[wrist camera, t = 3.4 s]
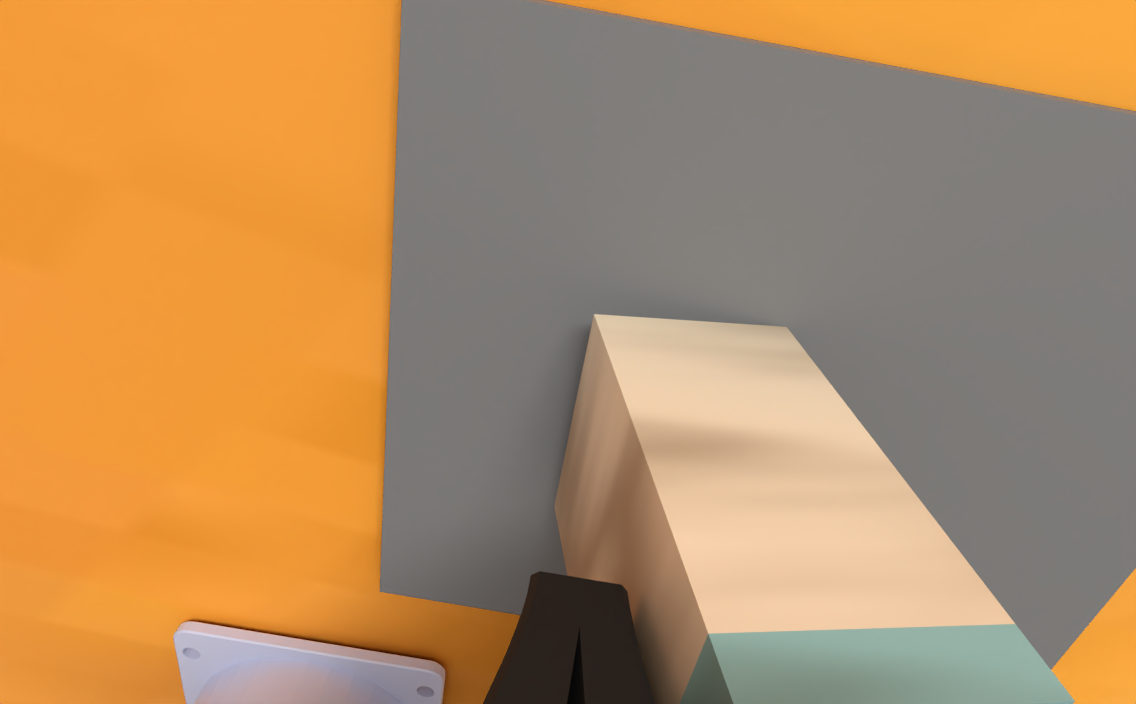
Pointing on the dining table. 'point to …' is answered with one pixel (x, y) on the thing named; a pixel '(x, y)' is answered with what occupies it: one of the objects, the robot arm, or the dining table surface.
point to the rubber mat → (756, 283)
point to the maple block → (769, 532)
